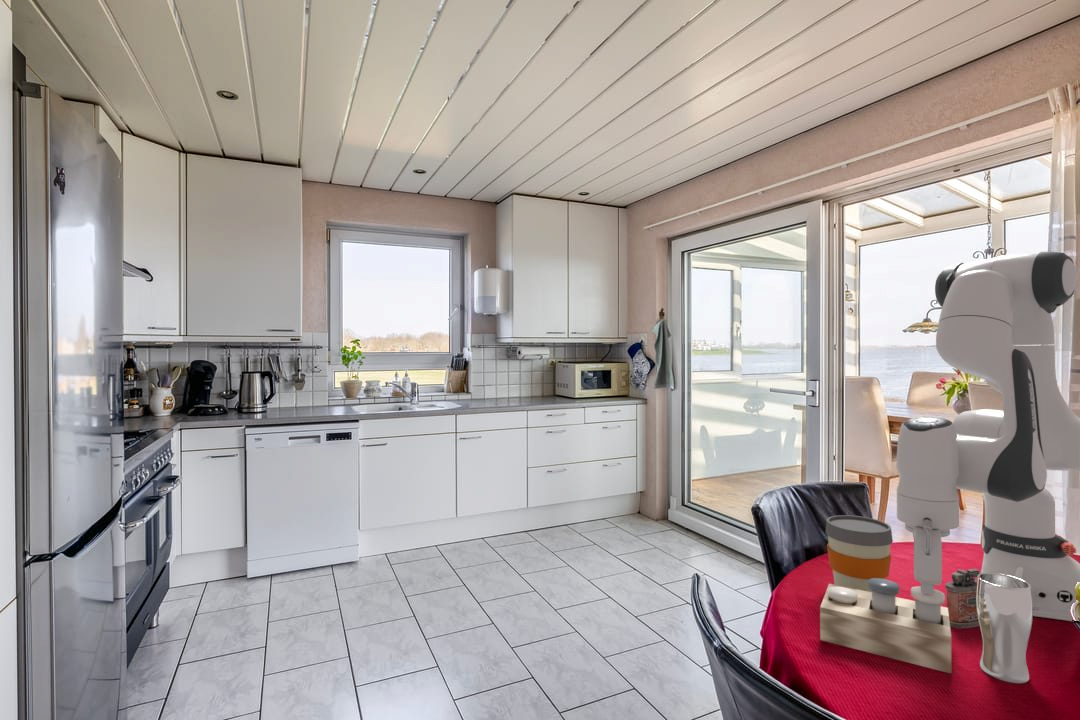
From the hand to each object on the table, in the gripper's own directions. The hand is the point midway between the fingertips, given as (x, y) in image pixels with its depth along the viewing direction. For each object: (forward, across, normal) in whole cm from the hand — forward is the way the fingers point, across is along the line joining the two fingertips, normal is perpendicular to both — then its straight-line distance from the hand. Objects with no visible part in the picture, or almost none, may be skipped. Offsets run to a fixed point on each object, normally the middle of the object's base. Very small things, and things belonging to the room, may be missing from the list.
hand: (927, 591), depth 95 cm
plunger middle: (+7, 0, +6) cm, 9 cm away
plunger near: (+7, 0, 0) cm, 7 cm away
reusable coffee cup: (+11, +20, +12) cm, 26 cm away
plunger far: (+10, 0, +13) cm, 16 cm away
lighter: (+10, +16, -6) cm, 20 cm away
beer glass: (+11, -1, -10) cm, 15 cm away
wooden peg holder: (+10, 0, +6) cm, 12 cm away
